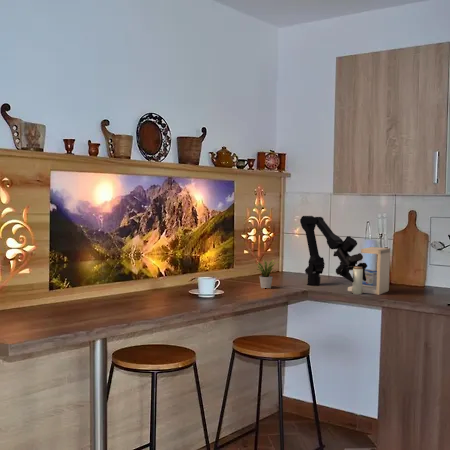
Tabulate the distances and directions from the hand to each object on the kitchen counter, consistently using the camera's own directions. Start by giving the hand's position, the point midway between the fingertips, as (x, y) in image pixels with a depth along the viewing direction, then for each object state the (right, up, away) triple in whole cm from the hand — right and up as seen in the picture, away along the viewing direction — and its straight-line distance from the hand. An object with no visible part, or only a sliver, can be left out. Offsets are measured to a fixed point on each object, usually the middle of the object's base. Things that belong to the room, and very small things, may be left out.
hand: (359, 281), depth 340 cm
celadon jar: (-1, -6, +2) cm, 7 cm away
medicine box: (+13, -5, +33) cm, 36 cm away
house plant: (-46, -5, +13) cm, 49 cm away
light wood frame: (+6, -6, +11) cm, 14 cm away
